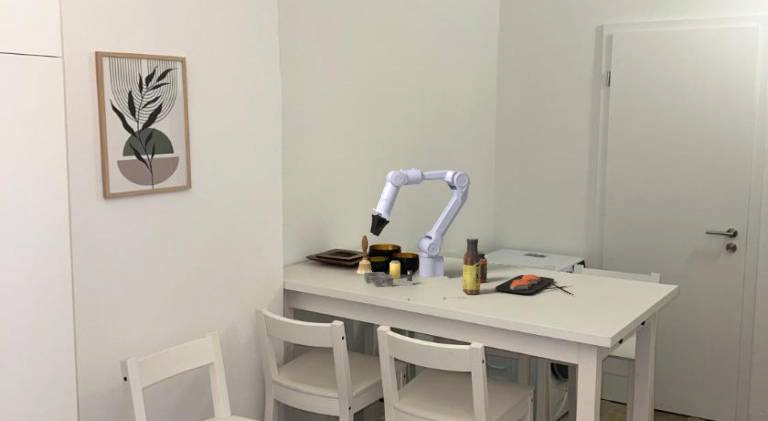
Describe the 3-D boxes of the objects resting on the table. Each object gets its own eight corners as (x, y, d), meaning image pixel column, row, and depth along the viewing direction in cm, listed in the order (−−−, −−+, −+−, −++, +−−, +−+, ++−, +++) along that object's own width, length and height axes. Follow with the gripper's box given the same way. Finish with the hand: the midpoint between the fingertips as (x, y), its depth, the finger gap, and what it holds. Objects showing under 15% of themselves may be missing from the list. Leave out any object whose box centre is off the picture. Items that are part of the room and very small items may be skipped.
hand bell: (374, 277, 294) (375, 237, 292) (353, 277, 295) (353, 237, 293) (375, 273, 303) (376, 234, 301) (354, 273, 303) (355, 233, 301)
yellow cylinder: (399, 277, 291) (399, 260, 290) (401, 279, 287) (401, 262, 286) (388, 277, 290) (389, 260, 289) (390, 279, 286) (390, 262, 285)
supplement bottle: (486, 280, 292) (487, 251, 291) (486, 283, 286) (487, 254, 285) (470, 279, 293) (471, 251, 291) (471, 283, 287) (471, 253, 285)
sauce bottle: (479, 295, 267) (480, 240, 264) (461, 294, 268) (462, 239, 265) (480, 291, 273) (482, 237, 271) (463, 290, 274) (464, 236, 272)
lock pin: (411, 283, 279) (411, 270, 278) (412, 284, 277) (412, 271, 276) (390, 284, 277) (390, 271, 277) (391, 285, 276) (391, 272, 275)
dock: (406, 279, 292) (406, 268, 292) (414, 289, 275) (415, 278, 275) (362, 280, 289) (362, 269, 289) (368, 290, 273) (368, 279, 272)
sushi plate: (520, 278, 298) (521, 269, 298) (596, 288, 283) (597, 278, 282) (492, 293, 273) (492, 283, 273) (573, 304, 258) (574, 293, 258)
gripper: (374, 196, 292) (361, 228, 292) (380, 198, 277) (367, 232, 278) (391, 202, 293) (378, 235, 293) (398, 205, 279) (384, 239, 279)
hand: (374, 234), depth 285 cm, fingers open, 7 cm apart
